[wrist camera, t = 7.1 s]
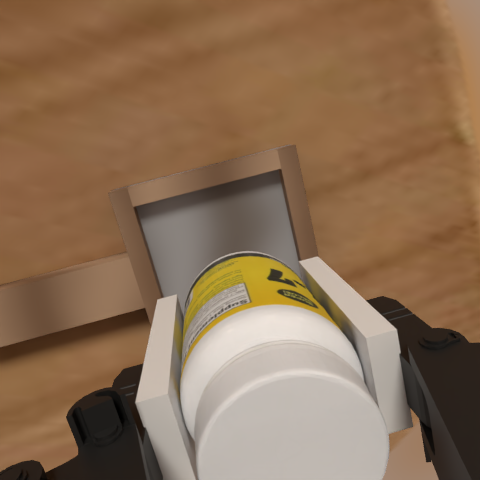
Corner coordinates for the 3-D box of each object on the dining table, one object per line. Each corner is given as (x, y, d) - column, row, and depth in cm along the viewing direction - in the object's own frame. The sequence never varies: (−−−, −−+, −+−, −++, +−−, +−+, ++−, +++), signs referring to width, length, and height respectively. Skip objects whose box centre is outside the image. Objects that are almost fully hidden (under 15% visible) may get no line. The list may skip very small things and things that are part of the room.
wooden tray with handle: (-97, 424, 25) (-137, 464, 22) (-179, 264, 23) (-237, 284, 19) (323, 307, 26) (341, 329, 23) (289, 144, 24) (304, 145, 21)
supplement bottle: (329, 312, 17) (452, 466, 9) (237, 385, 17) (278, 599, 9) (254, 221, 16) (319, 305, 8) (157, 301, 16) (124, 461, 8)
